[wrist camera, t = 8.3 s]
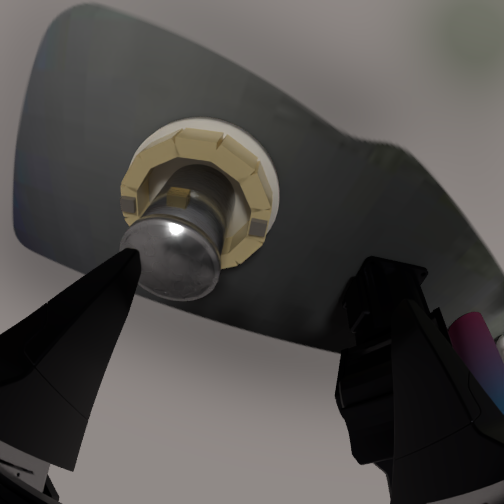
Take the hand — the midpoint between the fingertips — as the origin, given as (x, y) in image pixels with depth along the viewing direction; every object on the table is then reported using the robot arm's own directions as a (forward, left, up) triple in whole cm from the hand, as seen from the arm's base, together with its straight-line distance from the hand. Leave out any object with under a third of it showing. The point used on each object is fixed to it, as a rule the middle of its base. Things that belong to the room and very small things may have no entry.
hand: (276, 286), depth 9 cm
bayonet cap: (+5, +4, -11) cm, 13 cm away
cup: (-27, +14, -12) cm, 33 cm away
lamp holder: (+5, +4, -12) cm, 14 cm away
